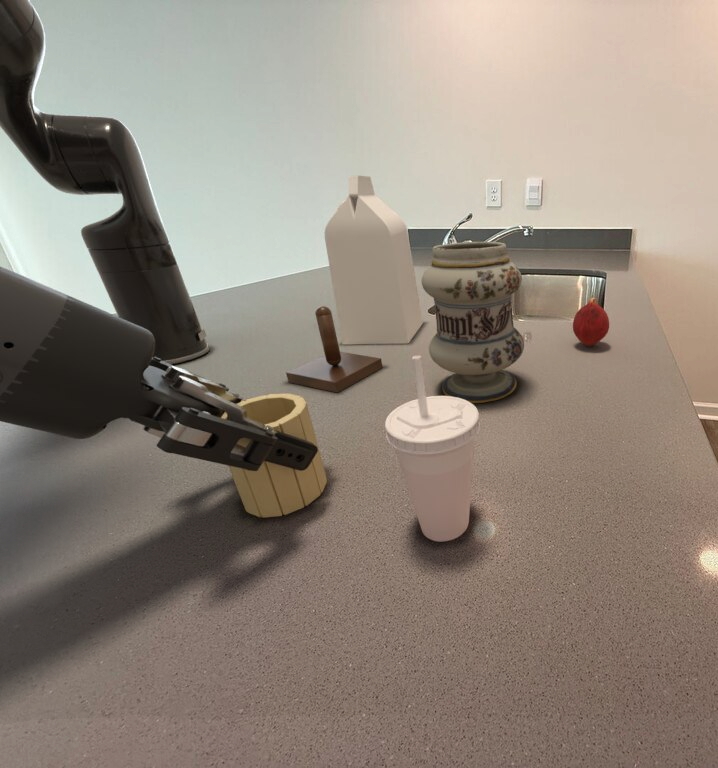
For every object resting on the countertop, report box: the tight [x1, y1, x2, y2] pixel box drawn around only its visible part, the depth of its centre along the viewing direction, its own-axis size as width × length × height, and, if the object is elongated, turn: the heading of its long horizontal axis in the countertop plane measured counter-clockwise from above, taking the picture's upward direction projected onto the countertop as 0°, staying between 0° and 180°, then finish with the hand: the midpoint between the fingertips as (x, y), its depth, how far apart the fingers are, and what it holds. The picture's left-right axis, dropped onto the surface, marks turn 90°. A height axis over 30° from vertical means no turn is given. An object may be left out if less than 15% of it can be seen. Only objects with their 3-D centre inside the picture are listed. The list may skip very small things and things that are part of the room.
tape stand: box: [285, 305, 384, 393], centre depth 56 cm, size 9×9×10 cm
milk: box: [324, 175, 424, 346], centre depth 70 cm, size 12×12×26 cm
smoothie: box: [384, 355, 481, 542], centre depth 29 cm, size 6×6×14 cm
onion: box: [572, 297, 610, 347], centre depth 65 cm, size 6×6×8 cm
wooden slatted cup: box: [221, 392, 328, 519], centre depth 34 cm, size 6×6×8 cm
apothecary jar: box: [421, 241, 525, 404], centre depth 50 cm, size 12×12×18 cm
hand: (293, 441), depth 35 cm, fingers closed on wooden slatted cup, 6 cm apart
